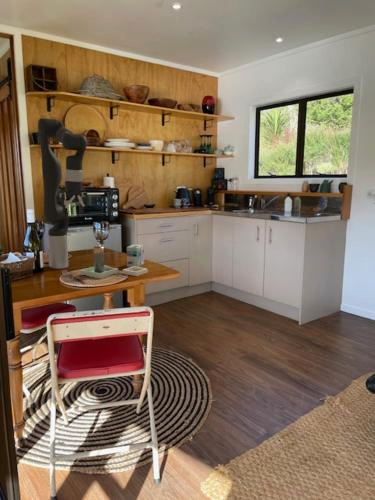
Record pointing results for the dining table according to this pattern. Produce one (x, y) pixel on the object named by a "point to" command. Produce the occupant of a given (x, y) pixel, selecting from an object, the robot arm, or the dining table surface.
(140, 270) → the checker socket
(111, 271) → the sage tray
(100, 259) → the battery cell
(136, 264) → the light bulb box
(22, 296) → the dining table surface
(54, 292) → the dining table surface
